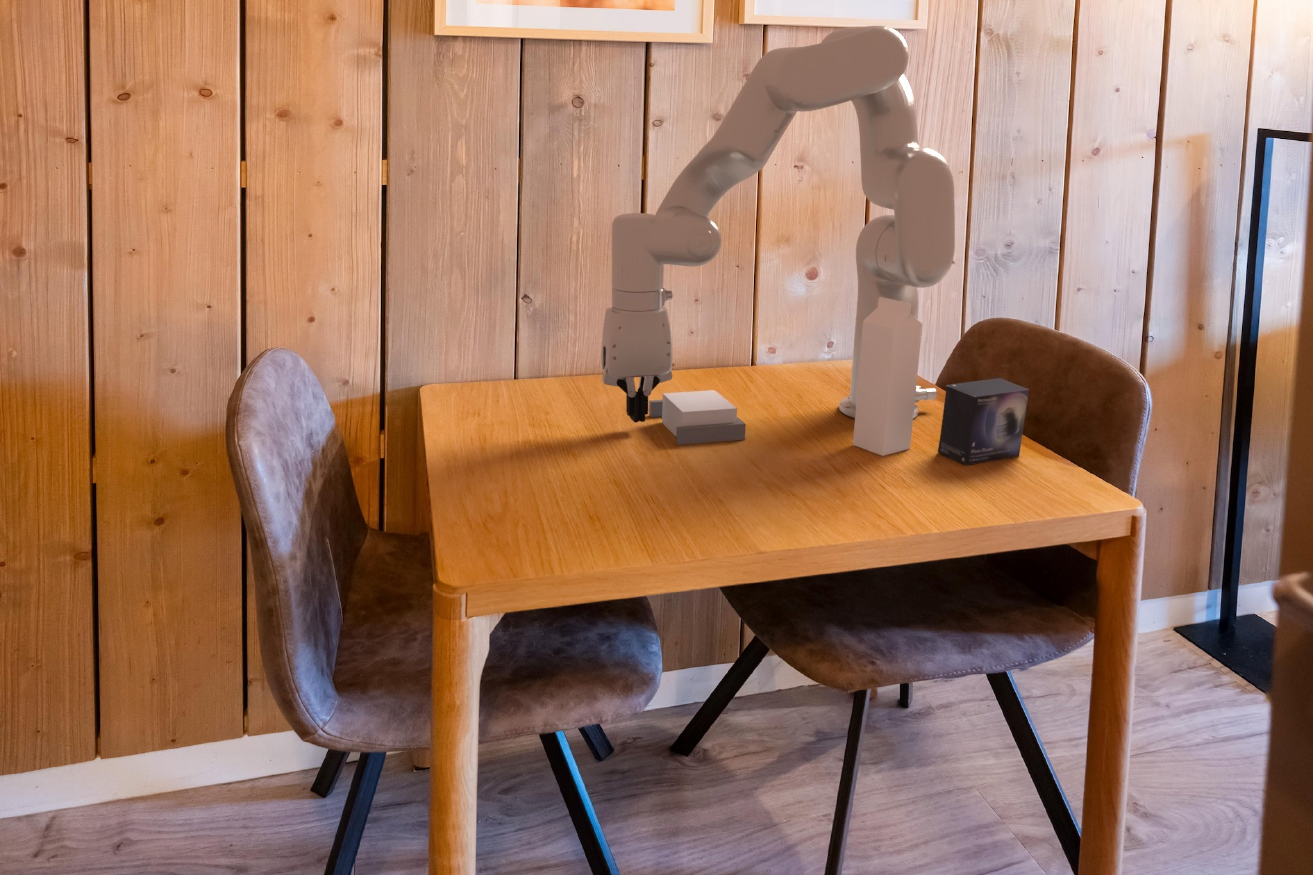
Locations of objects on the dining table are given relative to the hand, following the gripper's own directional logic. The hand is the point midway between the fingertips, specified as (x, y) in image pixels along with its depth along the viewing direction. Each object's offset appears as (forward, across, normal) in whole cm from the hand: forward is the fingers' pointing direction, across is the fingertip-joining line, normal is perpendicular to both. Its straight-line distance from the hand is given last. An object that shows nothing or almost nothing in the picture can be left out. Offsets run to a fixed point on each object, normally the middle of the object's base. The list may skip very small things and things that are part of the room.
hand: (637, 419), depth 162 cm
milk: (+3, -33, +16) cm, 37 cm away
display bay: (+2, -9, 0) cm, 10 cm away
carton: (+2, -9, +1) cm, 10 cm away
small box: (+3, -45, +22) cm, 51 cm away
